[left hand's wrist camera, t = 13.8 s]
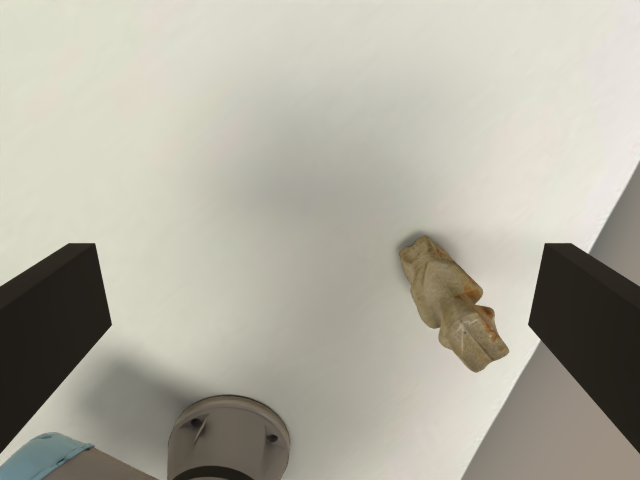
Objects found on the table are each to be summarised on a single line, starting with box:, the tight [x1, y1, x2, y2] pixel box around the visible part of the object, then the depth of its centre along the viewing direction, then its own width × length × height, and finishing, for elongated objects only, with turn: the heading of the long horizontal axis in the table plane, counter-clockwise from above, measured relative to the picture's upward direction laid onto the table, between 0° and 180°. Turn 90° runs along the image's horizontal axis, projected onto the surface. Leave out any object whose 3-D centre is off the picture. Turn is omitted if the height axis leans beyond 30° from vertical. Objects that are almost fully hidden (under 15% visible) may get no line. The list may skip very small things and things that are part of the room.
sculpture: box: [399, 236, 509, 372], centre depth 38 cm, size 6×7×15 cm
